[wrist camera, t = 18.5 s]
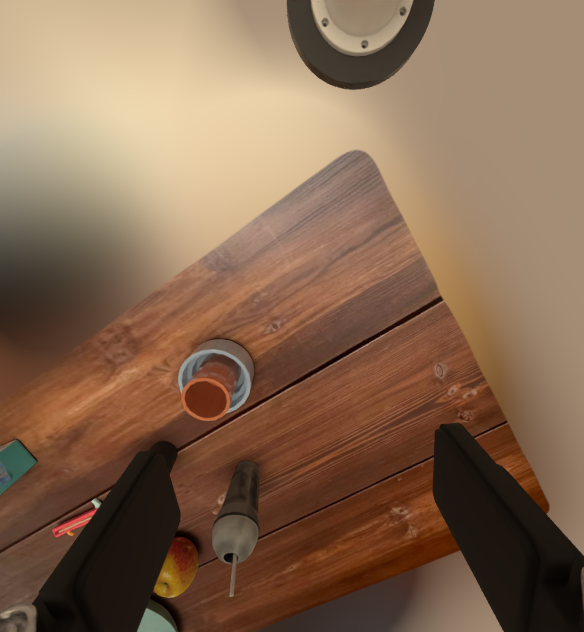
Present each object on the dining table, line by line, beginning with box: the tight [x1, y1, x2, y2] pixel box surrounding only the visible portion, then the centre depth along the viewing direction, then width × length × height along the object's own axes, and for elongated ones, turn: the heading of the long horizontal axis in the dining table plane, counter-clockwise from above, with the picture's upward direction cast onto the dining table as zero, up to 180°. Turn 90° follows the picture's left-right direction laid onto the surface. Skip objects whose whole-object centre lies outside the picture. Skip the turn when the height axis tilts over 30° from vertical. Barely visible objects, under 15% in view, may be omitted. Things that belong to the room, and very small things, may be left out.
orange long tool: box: [52, 498, 102, 537], centre depth 56 cm, size 24×2×5 cm
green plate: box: [137, 599, 178, 632], centre depth 66 cm, size 24×24×3 cm
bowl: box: [178, 339, 254, 413], centre depth 46 cm, size 11×11×5 cm
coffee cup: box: [181, 353, 241, 421], centre depth 44 cm, size 7×7×9 cm
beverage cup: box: [212, 461, 260, 597], centre depth 45 cm, size 7×7×20 cm
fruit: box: [154, 537, 199, 598], centre depth 56 cm, size 10×9×8 cm
